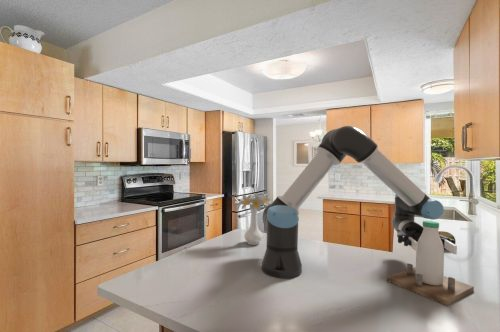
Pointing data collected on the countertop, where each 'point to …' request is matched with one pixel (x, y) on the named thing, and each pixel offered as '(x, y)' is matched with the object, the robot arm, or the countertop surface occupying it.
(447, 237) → the robot arm
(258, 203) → the flower vase
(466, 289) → the peg board
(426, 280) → the milk bottle
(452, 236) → the tin
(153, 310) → the countertop surface
